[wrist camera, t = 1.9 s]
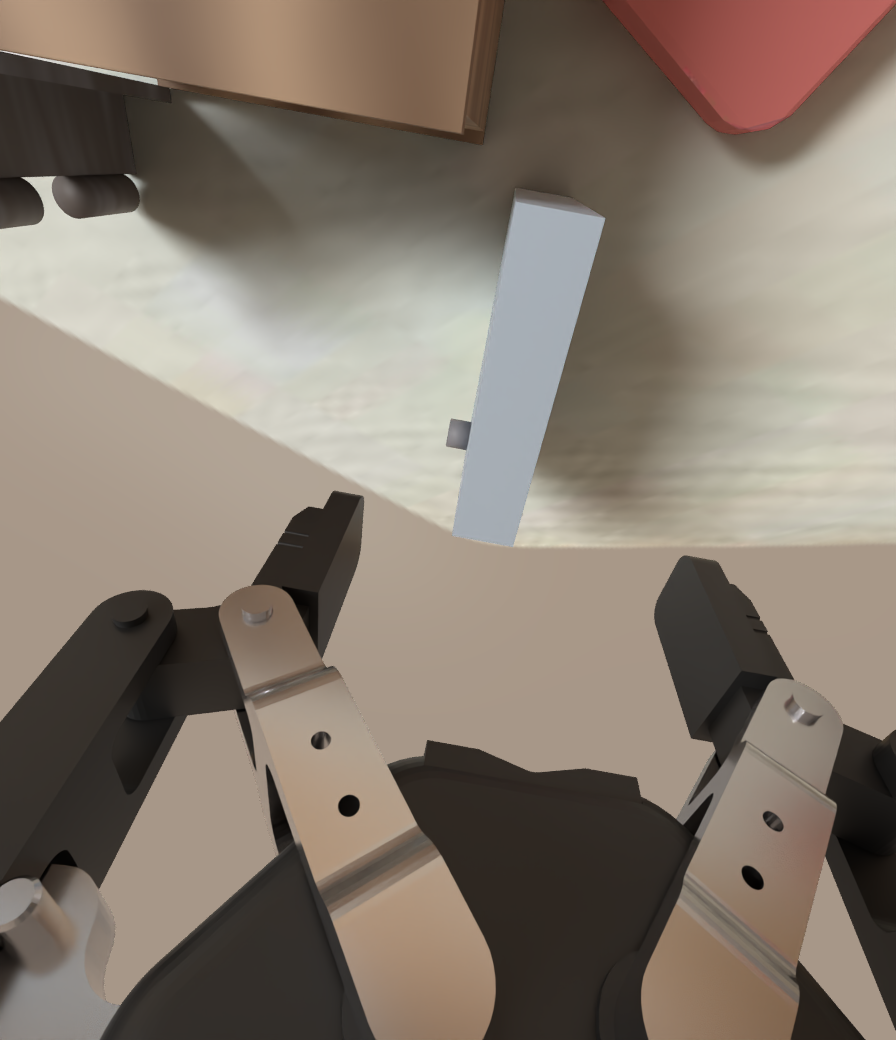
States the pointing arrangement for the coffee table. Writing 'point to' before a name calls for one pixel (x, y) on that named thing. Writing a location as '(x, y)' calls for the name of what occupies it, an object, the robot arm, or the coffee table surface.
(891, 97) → the coffee table surface
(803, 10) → the plaque
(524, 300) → the door
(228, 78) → the cabinet
